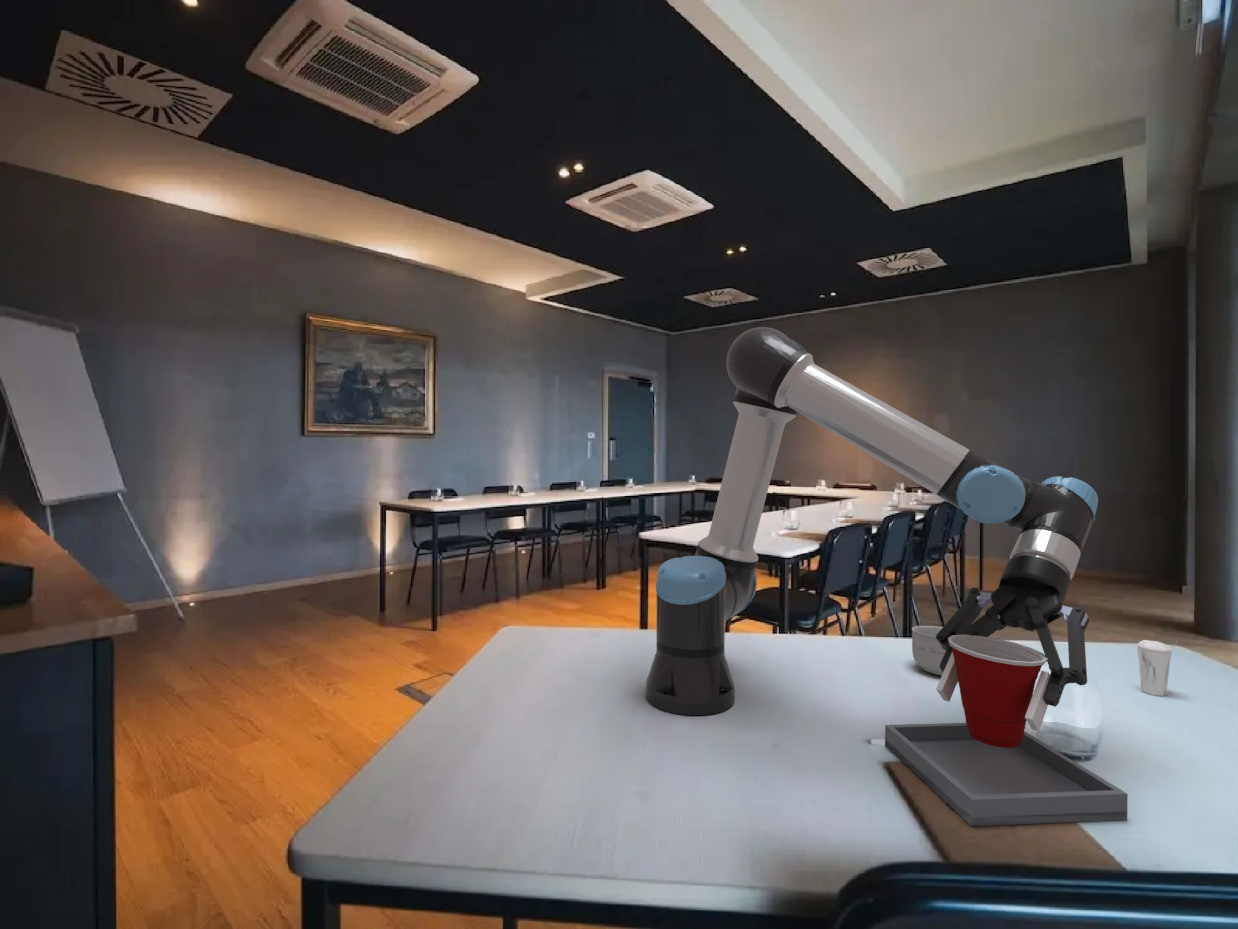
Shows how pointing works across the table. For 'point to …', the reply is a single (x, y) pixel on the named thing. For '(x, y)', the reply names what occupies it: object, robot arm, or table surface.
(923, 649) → the teacup
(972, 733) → the plastic cup
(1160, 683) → the milkshake
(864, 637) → the table surface
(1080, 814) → the grey shallow square tray
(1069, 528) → the robot arm
